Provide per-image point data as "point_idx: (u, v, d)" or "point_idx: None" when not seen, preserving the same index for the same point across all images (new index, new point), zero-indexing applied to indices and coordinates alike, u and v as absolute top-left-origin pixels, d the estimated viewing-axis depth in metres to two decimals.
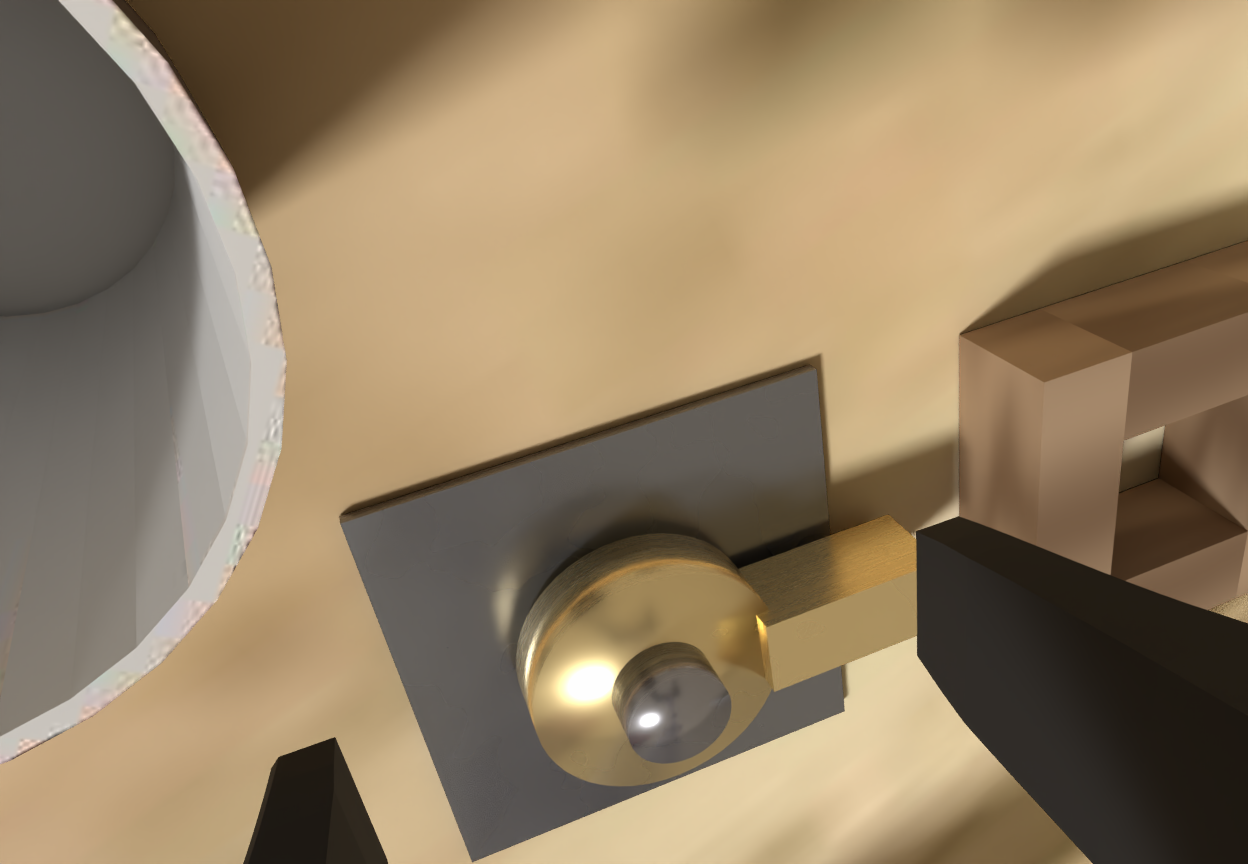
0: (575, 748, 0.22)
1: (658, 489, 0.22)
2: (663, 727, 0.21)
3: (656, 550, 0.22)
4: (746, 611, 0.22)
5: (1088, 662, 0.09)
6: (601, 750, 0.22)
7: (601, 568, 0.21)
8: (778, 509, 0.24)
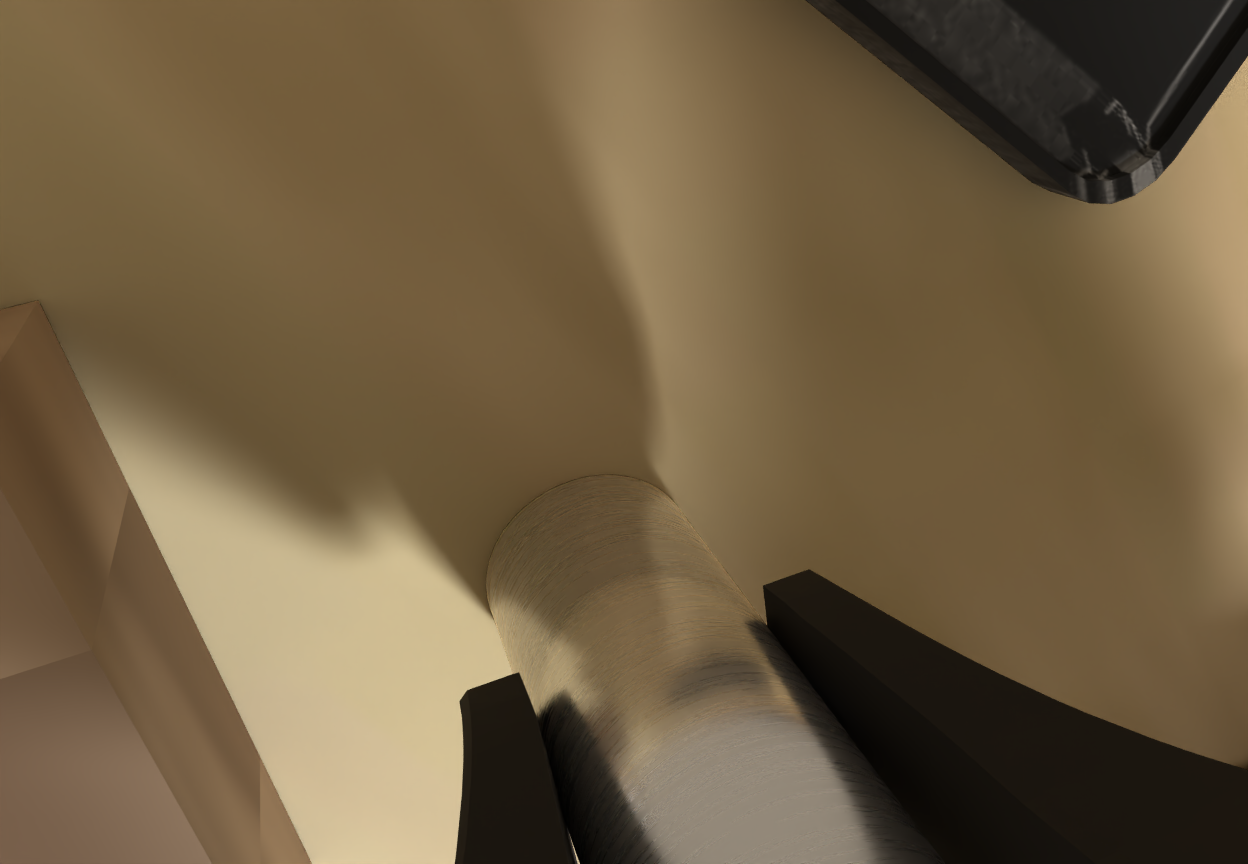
0: None
1: None
2: None
3: None
4: None
5: (904, 736, 0.09)
6: None
7: None
8: None
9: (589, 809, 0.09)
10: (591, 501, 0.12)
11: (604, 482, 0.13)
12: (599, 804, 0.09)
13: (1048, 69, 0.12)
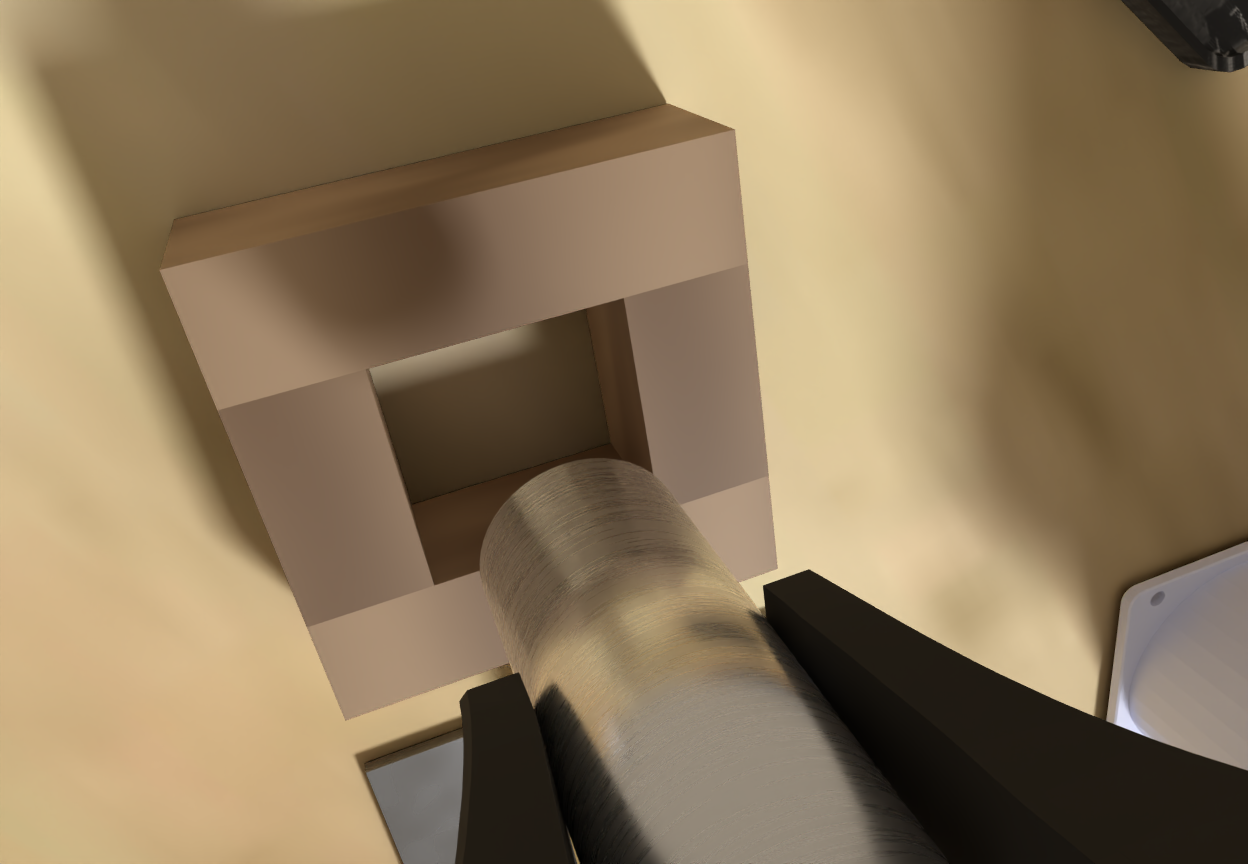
0: None
1: None
2: None
3: None
4: None
5: (904, 736, 0.09)
6: None
7: None
8: None
9: (577, 783, 0.09)
10: (580, 484, 0.13)
11: (594, 465, 0.13)
12: (586, 775, 0.09)
13: None
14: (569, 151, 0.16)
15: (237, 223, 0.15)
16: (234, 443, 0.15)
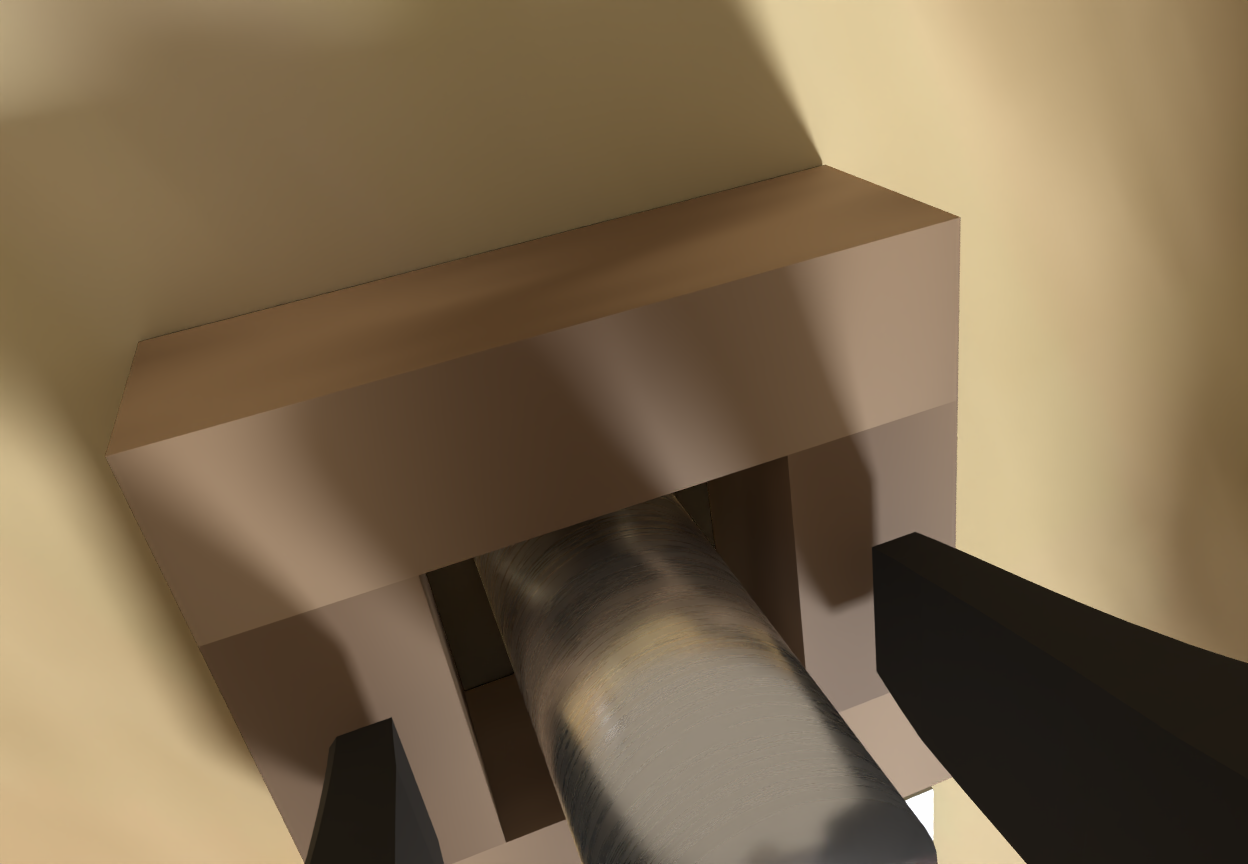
0: None
1: None
2: None
3: None
4: None
5: (1035, 684, 0.09)
6: None
7: None
8: None
9: (559, 731, 0.10)
10: None
11: None
12: (566, 724, 0.10)
13: None
14: (712, 245, 0.11)
15: (229, 358, 0.10)
16: (224, 688, 0.10)
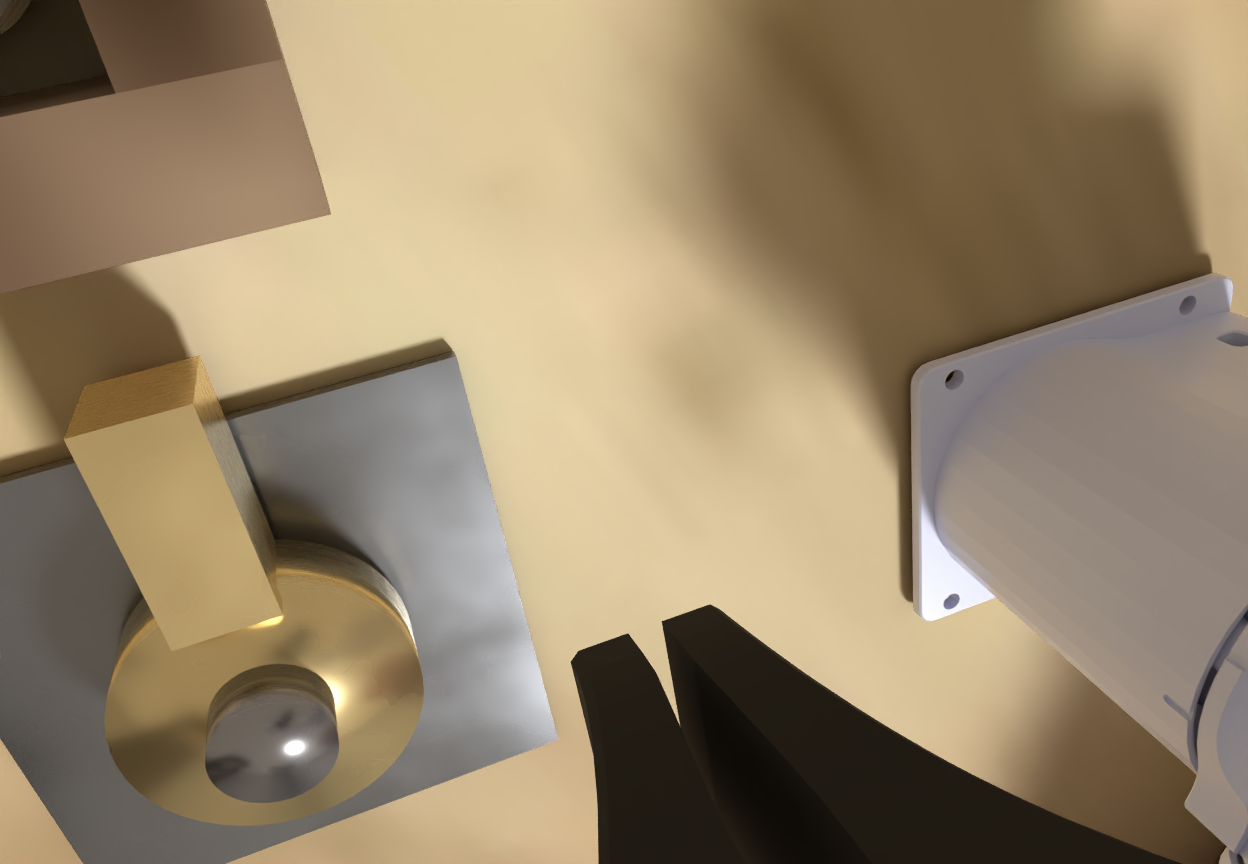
0: (349, 773, 0.21)
1: (63, 665, 0.20)
2: (280, 769, 0.19)
3: None
4: (167, 647, 0.18)
5: (781, 786, 0.09)
6: (358, 750, 0.21)
7: None
8: (90, 524, 0.19)
9: None
10: None
11: None
12: None
13: None
14: None
15: None
16: None
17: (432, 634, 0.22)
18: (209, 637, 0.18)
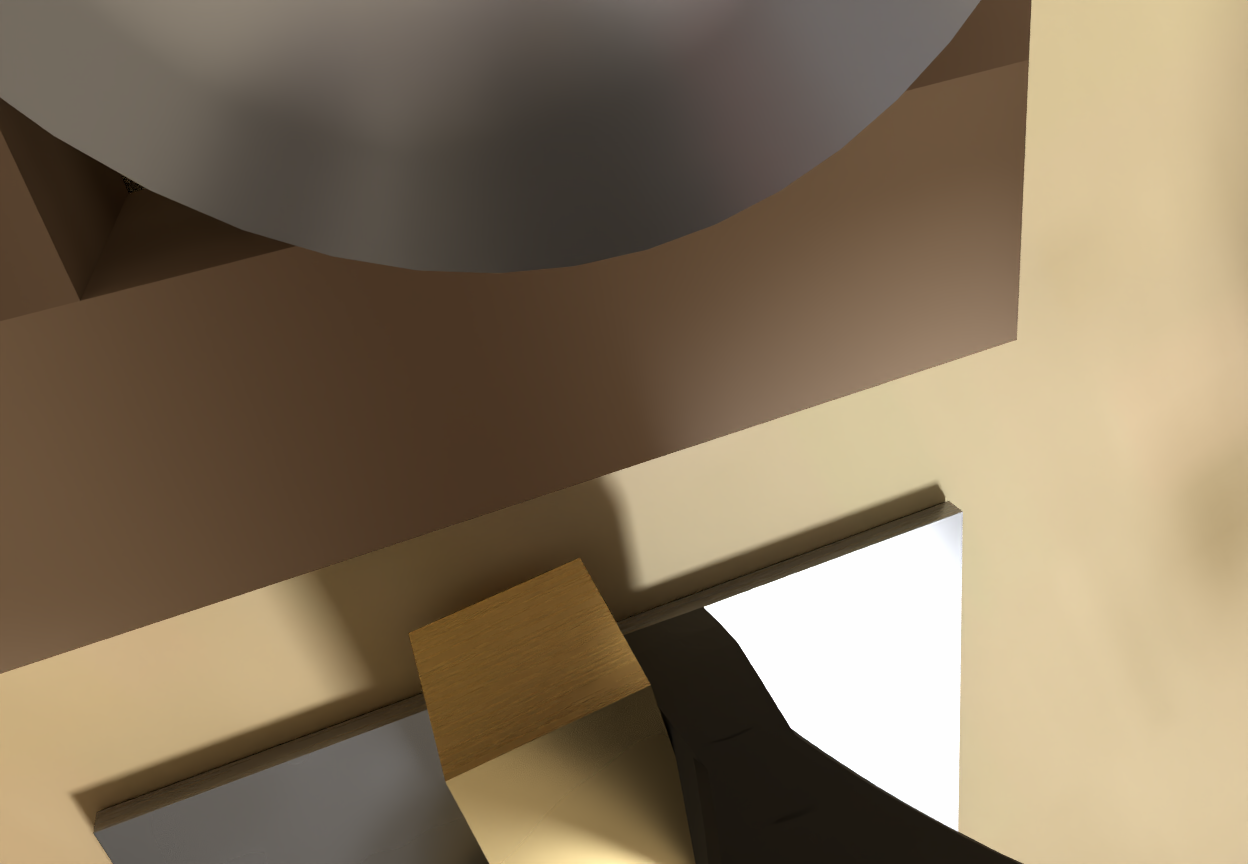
0: None
1: None
2: None
3: None
4: None
5: None
6: None
7: None
8: (433, 794, 0.12)
9: None
10: None
11: None
12: None
13: None
14: None
15: None
16: None
17: None
18: None
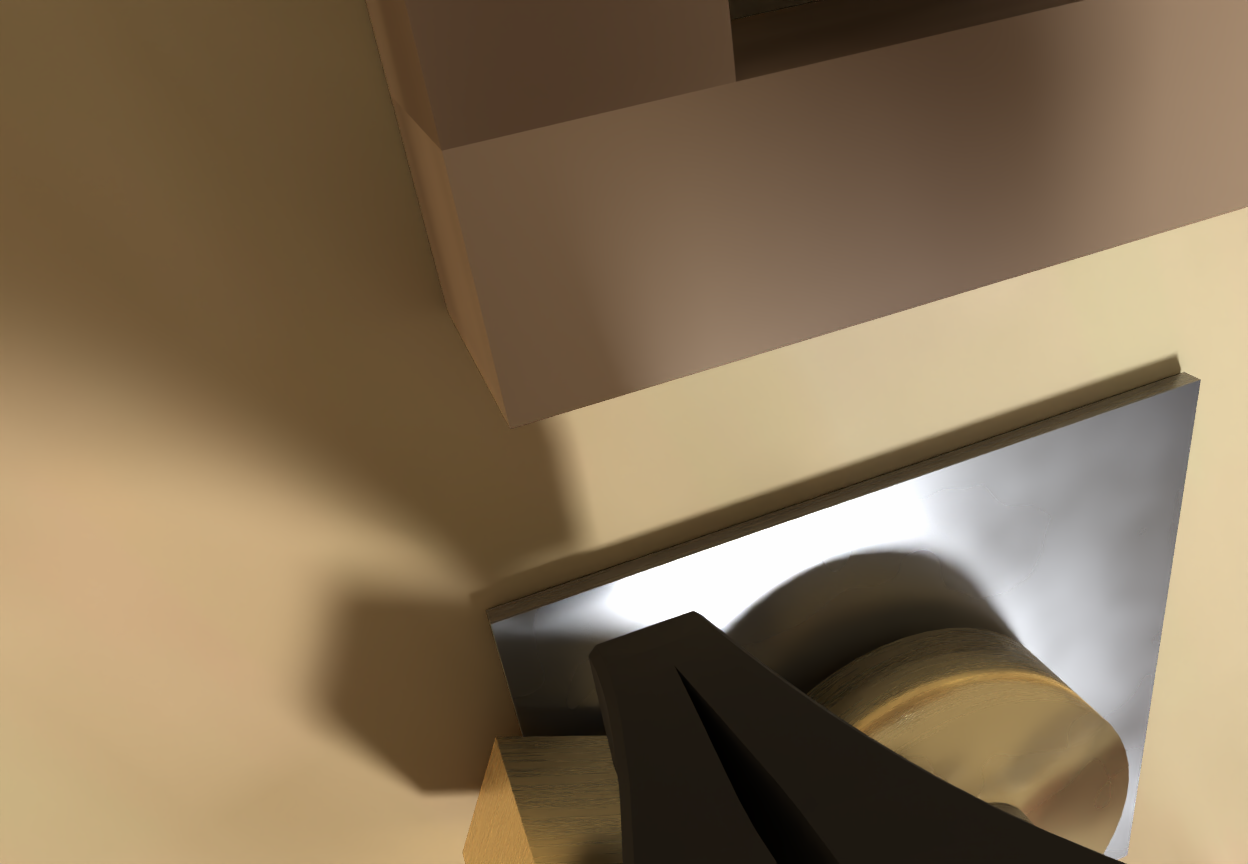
0: (1096, 811, 0.15)
1: None
2: None
3: None
4: None
5: (760, 795, 0.09)
6: (1080, 796, 0.15)
7: None
8: (749, 613, 0.14)
9: None
10: None
11: None
12: None
13: None
14: None
15: None
16: None
17: None
18: None
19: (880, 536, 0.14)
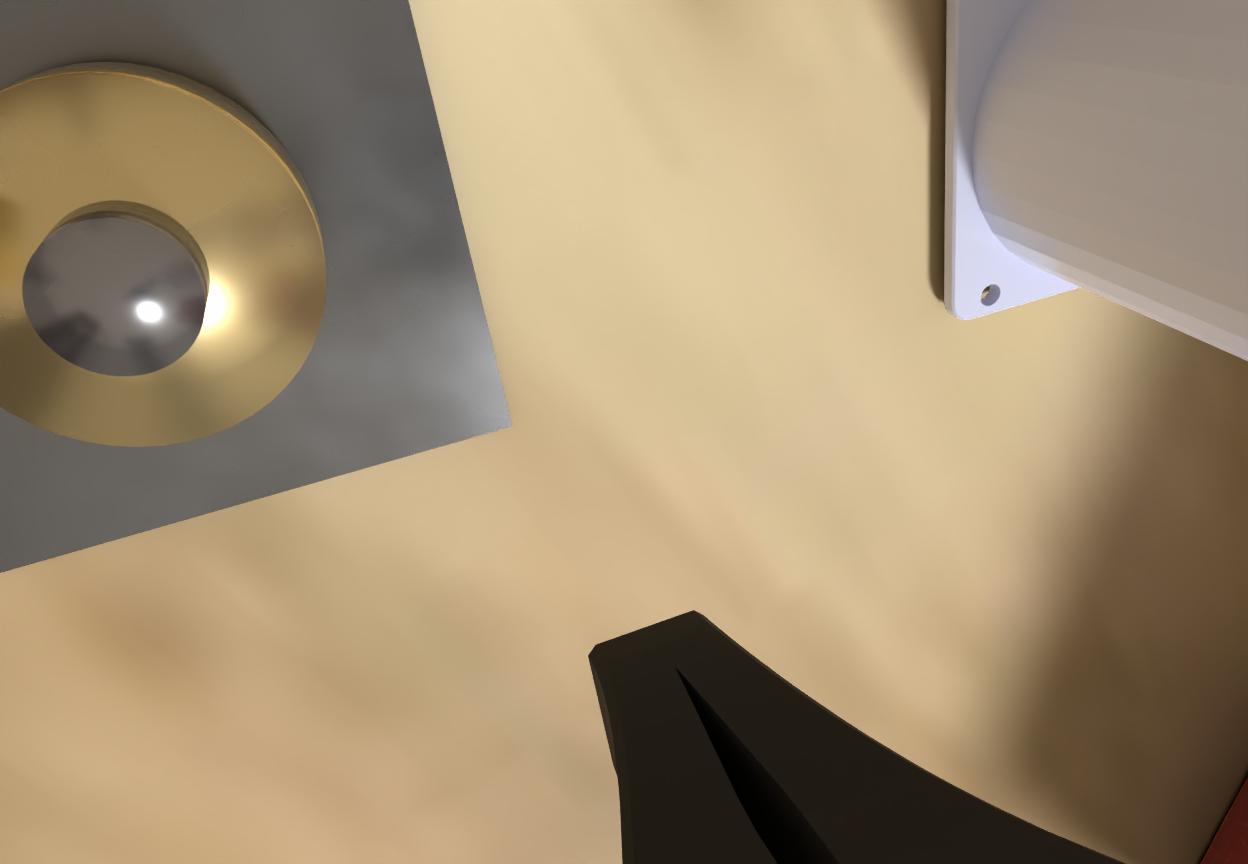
0: (286, 250, 0.16)
1: None
2: (147, 305, 0.14)
3: None
4: None
5: (760, 795, 0.09)
6: (253, 222, 0.16)
7: None
8: None
9: None
10: None
11: None
12: None
13: None
14: None
15: None
16: None
17: (349, 248, 0.18)
18: None
19: None
